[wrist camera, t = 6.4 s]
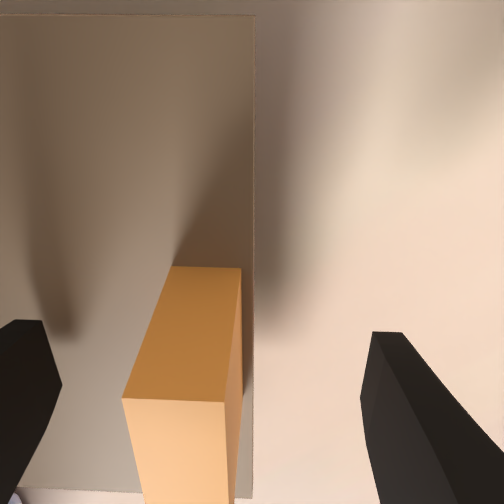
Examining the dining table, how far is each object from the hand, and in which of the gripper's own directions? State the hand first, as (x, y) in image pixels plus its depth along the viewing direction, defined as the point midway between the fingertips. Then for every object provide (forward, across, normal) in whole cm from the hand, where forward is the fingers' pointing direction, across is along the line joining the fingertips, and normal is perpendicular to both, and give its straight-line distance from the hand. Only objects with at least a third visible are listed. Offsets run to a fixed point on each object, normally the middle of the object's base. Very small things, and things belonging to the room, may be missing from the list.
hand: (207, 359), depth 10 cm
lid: (+1, +4, 0) cm, 4 cm away
